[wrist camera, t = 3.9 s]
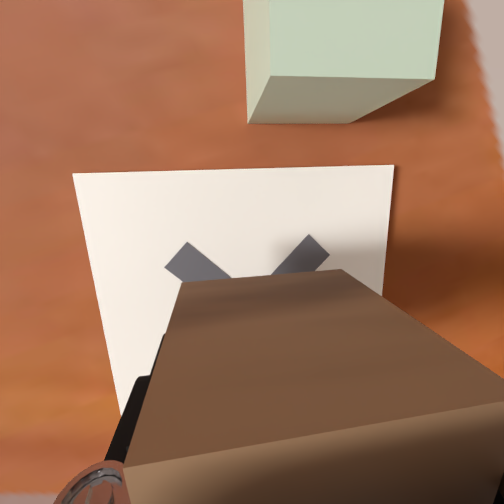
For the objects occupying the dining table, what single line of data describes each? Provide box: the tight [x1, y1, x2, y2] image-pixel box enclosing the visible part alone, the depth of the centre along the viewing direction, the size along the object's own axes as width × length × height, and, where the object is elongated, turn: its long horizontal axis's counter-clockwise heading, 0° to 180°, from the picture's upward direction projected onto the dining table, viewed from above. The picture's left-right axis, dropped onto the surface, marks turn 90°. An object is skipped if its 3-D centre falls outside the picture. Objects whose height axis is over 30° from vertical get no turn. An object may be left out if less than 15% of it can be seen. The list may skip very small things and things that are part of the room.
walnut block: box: [123, 269, 504, 504], centre depth 7 cm, size 6×6×6 cm
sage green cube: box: [243, 0, 444, 124], centre depth 10 cm, size 6×6×6 cm
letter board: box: [73, 165, 394, 416], centre depth 15 cm, size 16×16×1 cm
